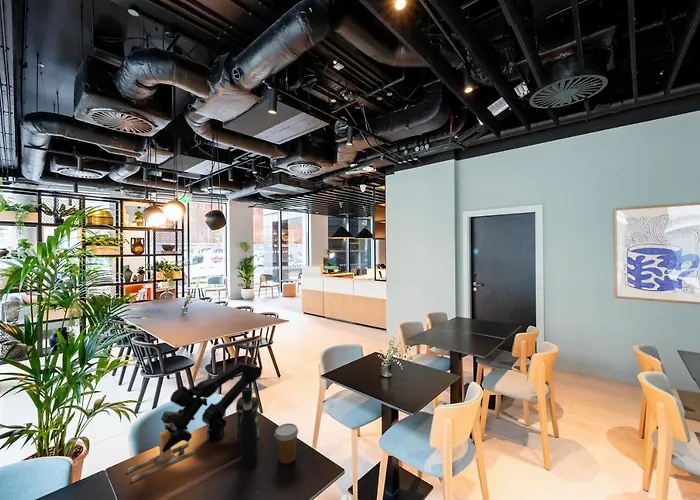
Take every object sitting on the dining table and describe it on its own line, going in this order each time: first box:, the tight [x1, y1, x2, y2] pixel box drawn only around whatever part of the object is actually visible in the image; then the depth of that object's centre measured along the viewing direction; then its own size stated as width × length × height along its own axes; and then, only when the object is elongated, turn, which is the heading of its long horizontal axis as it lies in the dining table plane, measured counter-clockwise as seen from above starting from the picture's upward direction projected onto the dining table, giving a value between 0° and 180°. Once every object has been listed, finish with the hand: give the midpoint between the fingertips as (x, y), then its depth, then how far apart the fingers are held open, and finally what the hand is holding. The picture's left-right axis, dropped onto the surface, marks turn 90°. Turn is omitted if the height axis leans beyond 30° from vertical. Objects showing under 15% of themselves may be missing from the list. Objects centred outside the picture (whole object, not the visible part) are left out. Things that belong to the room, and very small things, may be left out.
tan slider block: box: [154, 429, 177, 466], centre depth 126 cm, size 6×6×11 cm
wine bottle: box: [239, 386, 259, 470], centre depth 125 cm, size 6×6×30 cm
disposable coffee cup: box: [274, 422, 299, 464], centre depth 127 cm, size 10×10×12 cm
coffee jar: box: [235, 396, 260, 443], centre depth 142 cm, size 10×8×19 cm
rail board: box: [127, 441, 196, 482], centre depth 126 cm, size 22×8×2 cm, turn 136°
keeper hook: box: [176, 444, 185, 456], centre depth 131 cm, size 2×2×3 cm
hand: (161, 449), depth 125 cm, fingers closed on tan slider block, 4 cm apart
